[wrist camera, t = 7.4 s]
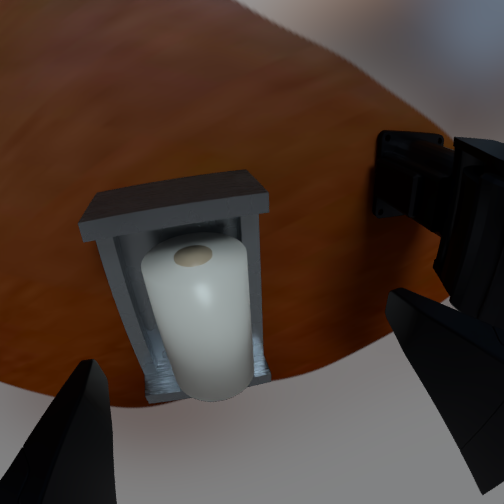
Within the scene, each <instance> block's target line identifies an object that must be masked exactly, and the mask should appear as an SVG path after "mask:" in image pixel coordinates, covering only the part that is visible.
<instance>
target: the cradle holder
mask: <svg viewBox="0 0 504 504" xmlns="http://www.w3.org/2000/svg"><path fill="white" fill-rule="evenodd" d="M267 212H269V192H268V191H267V190H266V189H265V188H264V187H263V186H262V185H261V184H260V183H259V182H258V181H257V180H256V179H255V178H254V177H253V176H252V175H251V174H250V173H249V172H248V171H247V170H237V171H228V172H220V173H212V174H205V175H198V176H191V177H184V178H177V179H171V180H164V181H158V182H152V183H146V184H141V185H135V186H130V187H124V188H119V189H114V190H109V191H104V192H99V193H96V195H95V196H94V198H93V199H92V201H91V203H90V204H89V206H88V207H87V209H86V211H85V212H84V214H83V216H82V217H81V219H80V221H79V222H78V225H79V229H80V232H81V236H82V239H83V242H88V241H93V240H96V243H97V247H98V250H99V253H100V257H101V260H102V263H103V267H104V270H105V273H106V276H107V279H108V282H109V285H110V288H111V291H112V294H113V297H114V300H115V302H116V305H117V308H118V311H119V313H120V316H121V319H122V321H123V324H124V327H125V329H126V332H127V334H128V337H129V339H130V342H131V344H132V347H133V349H134V351H135V354H136V356H137V359H138V361H139V363H140V365H141V368H142V370H143V372H144V374H145V396H146V398H147V400H148V402H149V404H150V403H158V402H166V401H173V400H180V399H186V398H192V397H190V396H189V395H187V394H186V393H184V392H183V391H182V390H181V388H180V387H179V386H178V384H177V382H176V379H175V376H174V373H173V371H172V368H171V365H170V362H169V359H168V356H167V353H166V350H165V347H164V344H163V341H162V338H161V335H160V332H159V329H158V326H157V323H156V319H155V316H154V313H153V309H152V306H151V303H150V299H149V296H148V292H147V289H146V285H145V281H144V278H143V274H142V270H141V263H142V260H143V258H144V256H145V255H146V254H147V253H148V251H150V250H151V249H152V248H153V247H155V246H156V245H158V244H159V243H161V242H163V241H165V240H168V239H170V238H173V237H176V236H180V235H184V234H190V233H198V232H213V233H220V234H225V235H229V236H231V237H234V238H236V239H237V240H239V241H240V242H241V243H242V244H243V245H244V246H245V248H246V250H247V263H248V279H249V295H250V310H251V326H252V341H253V356H254V375H253V378H252V380H251V382H250V384H249V385H248V386H247V387H250V386H254V385H259V384H263V383H267V382H271V372H270V370H269V367H268V365H267V362H266V359H265V357H264V354H263V329H262V298H261V269H260V241H259V214H260V213H267Z"/></svg>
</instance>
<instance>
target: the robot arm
mask: <svg viewBox="0 0 504 504" xmlns="http://www.w3.org/2000/svg"><path fill="white" fill-rule="evenodd" d="M386 135H387V139H386V140H385V136H386ZM443 144H444V138H443V136H442V135H439V134H434V133H423V132H410V131H393V130H383V131H381V132H380V134H379V140H378V156H377V166H376V178H375V189H374V201H373V210H372V212H373V215H374V216H376V217H377V218H386V217H393V216H400V215H406V216H408V217H410V218H412V219H413V220H415V221H416V222H418V223H419V224H421V225H422V226H424V227H425V228H427V229H428V230H430V231H431V232H434V233H435V234H437V235H438V236H440V237H441V240H440V244H439V249H438V253H437V257H436V259H435V260H434V264H433V269H434V270H435V272H436V273H437V275H438V277H439V278H440V280H441V282H442V283H443V286H444V287H445V289H446V291H447V292H448V294H449V295H450V299H449V301H450V303H451V304H452V305H453V306H454V307H455V308H456V309H457V310H458V311H457V310H455V309H452V308H450V307H448V306H445V305H443V304H441V303H438V302H436V301H433V300H431V299H429V298H426V297H424V296H421V295H419V294H416V293H414V292H411V291H409V290H407V289H404V288H397V289H394V290H391V291H390V292H389V295H388V300H387V304H386V309H385V314H386V317H387V320H388V322H389V324H390V326H391V327H392V329H393V331H394V334H395V335H396V337H397V339H398V342H399V344H400V346H401V348H402V350H403V352H404V353H405V355H406V357H407V359H408V360H409V362H410V364H411V365H412V367H413V369H414V370H415V372H416V373H417V375H418V377H419V378H420V380H421V382H422V383H423V385H424V387H425V388H426V390H427V392H428V394H429V395H430V397H431V399H432V401H433V402H434V404H435V405H436V407H437V409H438V411H439V413H440V414H441V416H442V418H443V420H444V422H445V424H446V425H447V427H448V429H449V431H450V433H451V434H452V436H453V438H454V440H455V442H456V444H457V446H458V448H459V449H460V452H461V454H462V456H463V457H464V459H465V461H466V463H467V465H468V467H469V469H470V471H471V473H472V475H473V477H474V479H475V482H476V484H477V486H478V488H479V490H480V492H481V493H482V495H484V494H485V493H487V492H488V491H490V490H492V489H493V488H495V487H496V486H498V485H499V484H501V483H502V482H503V481H504V143H501V142H498V141H494V140H488V139H487V140H486V139H477V138H464V137H454V144H453V146H454V147H455V150H452V149H449V148H446V147H443ZM379 210H380V212H379V213H378V211H379ZM23 447H24V448H21V450H20V451H19V453H18V455H17V456H16V458H15V459H14V461H13V462H12V464H11V466H10V467H9V469H8V470H7V472H6V473H5V474H4V476H3V477H2V479H1V480H0V504H117V501H116V491H115V478H114V460H113V431H112V420H111V411H110V402H109V391H108V382H107V378H106V376H105V374H104V373H103V371H102V370H101V368H100V366H99V365H98V363H97V362H96V361H95V360H94V359H88V360H82V361H81V362H80V363H79V364H78V366H77V367H76V368H75V370H74V371H73V373H72V374H71V375H70V377H69V378H68V380H67V381H66V382H65V384H64V385H63V387H62V388H61V389H60V391H59V392H58V394H57V395H56V397H55V398H54V400H53V401H52V402H51V404H50V405H49V407H48V408H47V410H46V411H45V413H44V414H43V416H42V417H41V419H40V420H39V422H38V423H37V425H36V426H35V428H34V430H33V431H32V433H31V434H30V436H29V437H28V439H27V440H26V442H25V444H24V445H23Z"/></svg>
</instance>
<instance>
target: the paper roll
mask: <svg viewBox="0 0 504 504" xmlns="http://www.w3.org/2000/svg"><path fill="white" fill-rule="evenodd" d="M141 270H142V274H143V278H144V281H145V285H146V289H147V292H148V296H149V299H150V303H151V306H152V309H153V313H154V316H155V319H156V323H157V326H158V329H159V332H160V335H161V338H162V341H163V344H164V347H165V350H166V353H167V356H168V359H169V362H170V365H171V368H172V371H173V373H174V376H175V379H176V382H177V384H178V386H179V387H180V388H181V390H182V391H183V392H184V393H186V394H187V395H189V396H190V397H192V398H195V399H198V400H201V401H208V402H216V401H223V400H227V399H229V398H232V397H234V396H236V395H238V394H239V393H241V392H242V391H243V390H244V389H245V388H246V387H247V386H248V385H249V384H250V382H251V380H252V378H253V375H254V356H253V341H252V326H251V310H250V295H249V279H248V263H247V250H246V248H245V246H244V245H243V244H242V243H241V242H240V241H239V240H237V239H236V238H234V237H231V236H229V235H225V234H220V233H213V232H198V233H190V234H184V235H180V236H176V237H173V238H170V239H168V240H165V241H163V242H161V243H159V244H158V245H156V246H155V247H153V248H152V249H151V250H150V251H148V253H147V254H146V255H145V256H144V258H143V260H142V263H141Z"/></svg>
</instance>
